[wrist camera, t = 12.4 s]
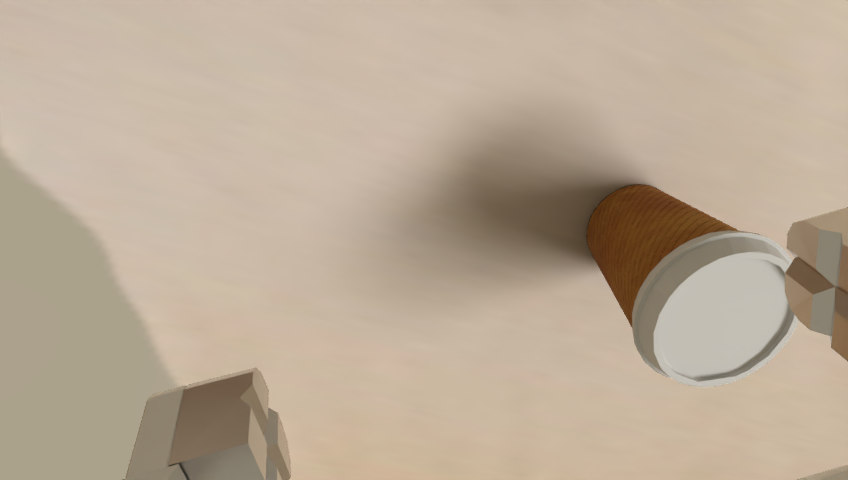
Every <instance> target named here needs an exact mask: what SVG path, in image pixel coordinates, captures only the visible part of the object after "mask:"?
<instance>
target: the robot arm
mask: <svg viewBox="0 0 848 480" xmlns="http://www.w3.org/2000/svg"><path fill="white" fill-rule="evenodd" d="M787 249H788V250H789V251H790V252H791V253H792V255H793V256H794V257H795V259H794V260H793V262H792V263H791V265H790V266H789V268H788V269H787V271H786V272H785V294H786V297H787V300H788V303H789V306H790V309H791V310H792V311H793V313H794V314H795V316H796V317H797V319H798V320H799V321H800V322H801V323H803V324H804V325H805V326H806V327H807V328H808V329H809V330H812V331H815V332H819V333H822V334H825V335H829V336H830V339H831V348H832V349H833V350H835V351H836V352H837V353H838V354H840V355H841V356H842V357H843V358H844V359H846V360H847V361H848V207H847V208H843V209H840V210H836V211H833V212H829V213H826V214H822V215H819V216H815V217H812V218H808V219H805V220H801V221H798V222H794V223H793V224H792V226H791V228H790V230H789V232H788V237H787ZM268 393H269V390H268V387H267V385H266V383H265V380H264V378H263V376H262V374H261V372H260V371H259V370H258V369H257V368H253V369H249V370H245V371H241V372H237V373H233V374H229V375H225V376H221V377H217V378H213V379H209V380H205V381H201V382H197V383H193V384H189V385H188V386H181V387H177V388H174V389H170V390H166V391H163V392H159V393H155V394H153V395H152V396H151V397H149V398H148V400H147V402H146V406H145V409H144V413H143V417H142V420H141V424H140V427H139V431H138V435H137V438H136V442H135V445H134V449H133V452H132V456H131V460H130V463H129V467H128V470H127V474H126V478H125V479H123V480H289V479H290V477H291V467H290V456H289V450H288V443H287V439H286V435H285V432H284V428H283V425H282V423H281V420H280V417H279V415H278V413H277V412H275V411H273V410H272V409H270V408H268ZM798 480H848V465H845V466H842V467H838V468H835V469H831V470H828V471H825V472H821V473H818V474H814V475H811V476H808V477H804V478H801V479H798Z"/></svg>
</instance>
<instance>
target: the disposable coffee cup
mask: <svg viewBox="0 0 848 480" xmlns="http://www.w3.org/2000/svg"><path fill="white" fill-rule="evenodd" d="M587 243H588V246H589V249H590V251H591V253H592V255H593V257H594V259H595V260H596V262H597V264H598V266H599V268H600V270H601V271H602V273H603V275H604V277H605V279H606V281H607V282H608V284H609V286H610V288H611V290H612V292H613V293H614V295H615V297H616V299H617V301H618V303H619V305H620V306H621V308H622V310H623V312H624V314H625V315H626V317H627V319H628V321H629V323H630V325H631V327H632V330H633V336H634V342H635V345H636V347H637V350H638V352H639V353H640V355H641V357H642V358H643V360H644V362H645V363H646V364H647V365H649V366H650V367H651V368H652V369H653V370H654V371H656V372H658V373H660V374H662V375H664V376H666V377H669V378H672V379H674V380H676V381H677V382H679V383H682V384H685V385H689V386H695V387H716V386H720V385H724V384H729V383H732V382H734V381H737V380H740V379H742V378H744V377H746V376H748V375H750V374H752V373H753V372H755V371H756V370H758V369H759V368H761V367H762V366H764V365H765V364H767V363H768V362H769V361H770V360H771V359H772V358H773V357H774V356H775V355H776V354H777V353H778V352H779V351H780V350H781V349H782V348H783V346H784V345H785V344H786V343H787V341H788V340H789V339H790V337H791V335H792V333H793V332H794V330H795V328H796V326H797V324H798V321H799V320H798V319H797V317H796V316H795V314H794V313H793V311H792V310H791V309H790V306H789V303H788V300H787V297H786V294H785V272H786V271H787V269H788V268H789V266H790V265H791V263H792V260H791V258H790V257H789V255H788V254H787V253H786V251H785V250H784V249H783V248H782V247H781V246H780V245H779V244H777V243H776V242H774V241H772V240H771V239H769V238H767V237H764V236H762V235H759V234H756V233H750V232H744V231H738V230H737V229H735V228H733V227H730V226H729V225H727V224H725V223H723V222H722V221H719V220H716V218H713V217H710V216H709V215H708V214H705V213H704V212H702V211H699V210H698V209H696V208H693V207H691V206H690V205H688V204H686V203H684V202H682V201H680V200H678V199H676V198H674V197H672V196H670V195H668V194H666V193H664V192H662V191H661V190H659V189H657V188H655V187H652V186H648V185H631V186H627V187H624V188H621V189H619V190H617V191H615V192H613V193H612V194H610V195H609V196H607V197H606V198H605V199H604V200H603V201H602V202H601V203H600V204H599V205H598V207H597V208H596V209H595V211H594V212H593V214H592V216H591V218H590V221H589V224H588V228H587Z"/></svg>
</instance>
